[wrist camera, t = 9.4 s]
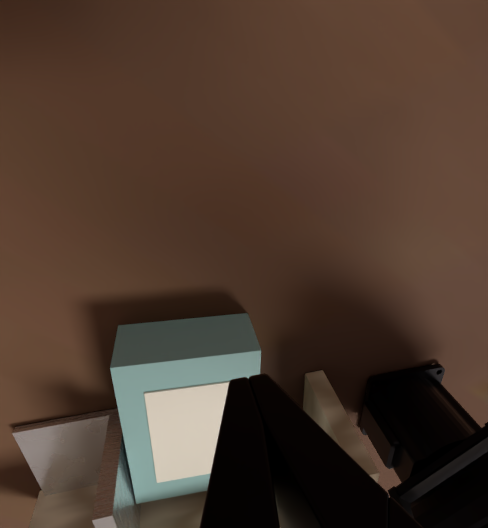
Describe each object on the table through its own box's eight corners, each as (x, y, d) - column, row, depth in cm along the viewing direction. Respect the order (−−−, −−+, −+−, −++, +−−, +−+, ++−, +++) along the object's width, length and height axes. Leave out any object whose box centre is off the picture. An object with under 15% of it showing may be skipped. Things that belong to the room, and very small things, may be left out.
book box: (246, 309, 23) (261, 351, 19) (242, 433, 28) (253, 483, 25) (118, 321, 22) (109, 369, 18) (140, 449, 27) (136, 505, 23)
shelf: (323, 369, 26) (381, 472, 20) (317, 442, 30) (363, 549, 23) (6, 428, 23) (-62, 578, 16) (45, 501, 27) (4, 647, 20)
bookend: (125, 406, 24) (112, 515, 18) (142, 468, 27) (136, 579, 21) (15, 426, 23) (-39, 550, 17) (46, 489, 26) (12, 611, 20)
